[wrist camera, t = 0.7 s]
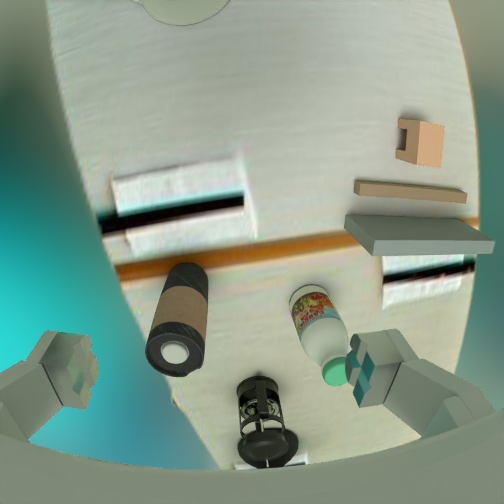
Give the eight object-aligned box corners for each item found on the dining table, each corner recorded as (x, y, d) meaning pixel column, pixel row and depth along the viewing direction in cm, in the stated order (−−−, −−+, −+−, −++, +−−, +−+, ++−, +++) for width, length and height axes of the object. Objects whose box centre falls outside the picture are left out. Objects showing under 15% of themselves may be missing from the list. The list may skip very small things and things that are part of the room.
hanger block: (398, 118, 47) (420, 120, 41) (421, 123, 48) (444, 126, 41) (395, 158, 50) (416, 164, 44) (418, 161, 50) (440, 168, 44)
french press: (276, 403, 71) (291, 485, 50) (236, 405, 70) (242, 488, 49) (280, 369, 66) (299, 458, 45) (236, 371, 65) (243, 462, 44)
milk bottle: (336, 292, 59) (376, 362, 41) (315, 323, 62) (344, 398, 44) (301, 277, 57) (334, 349, 39) (281, 311, 60) (302, 388, 42)
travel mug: (168, 258, 54) (143, 328, 36) (212, 264, 55) (207, 337, 37) (165, 296, 57) (144, 373, 38) (207, 301, 58) (202, 381, 40)
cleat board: (349, 180, 51) (380, 198, 40) (463, 190, 53) (502, 208, 42) (344, 227, 54) (372, 256, 43) (455, 230, 56) (492, 253, 45)
